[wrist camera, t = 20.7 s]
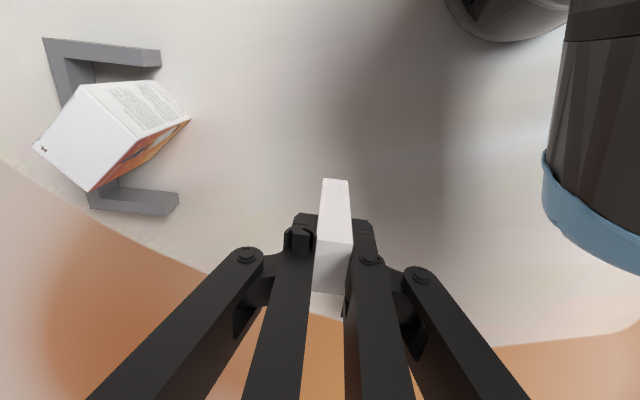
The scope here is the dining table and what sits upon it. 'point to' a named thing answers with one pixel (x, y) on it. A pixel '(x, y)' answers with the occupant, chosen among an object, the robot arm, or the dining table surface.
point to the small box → (109, 130)
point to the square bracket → (76, 69)
